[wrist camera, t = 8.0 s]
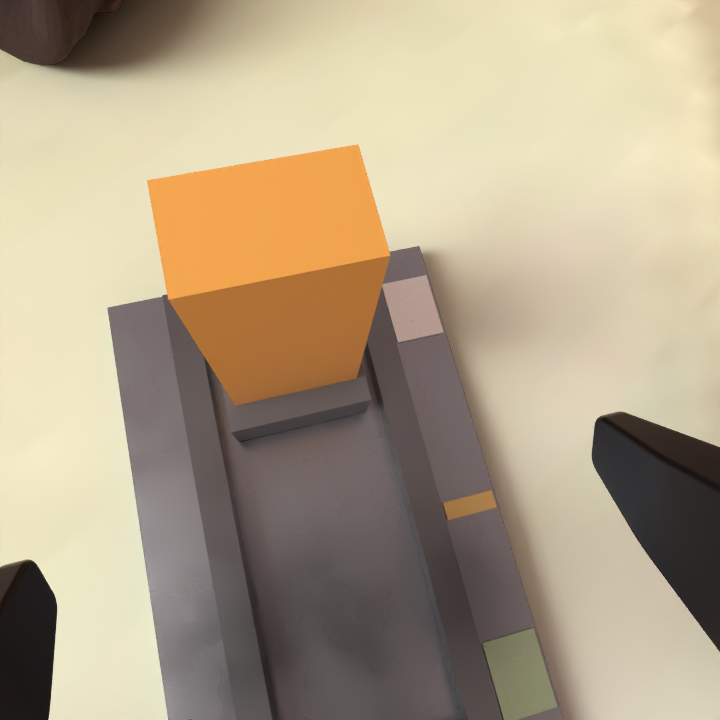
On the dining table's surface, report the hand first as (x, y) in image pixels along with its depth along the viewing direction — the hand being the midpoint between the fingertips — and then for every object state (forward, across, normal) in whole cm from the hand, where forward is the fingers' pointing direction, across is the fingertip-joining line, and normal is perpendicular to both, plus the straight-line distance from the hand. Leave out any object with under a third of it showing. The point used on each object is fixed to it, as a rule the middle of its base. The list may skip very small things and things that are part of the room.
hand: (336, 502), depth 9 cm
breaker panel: (+9, 0, +8) cm, 12 cm away
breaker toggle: (+12, 0, +4) cm, 12 cm away
